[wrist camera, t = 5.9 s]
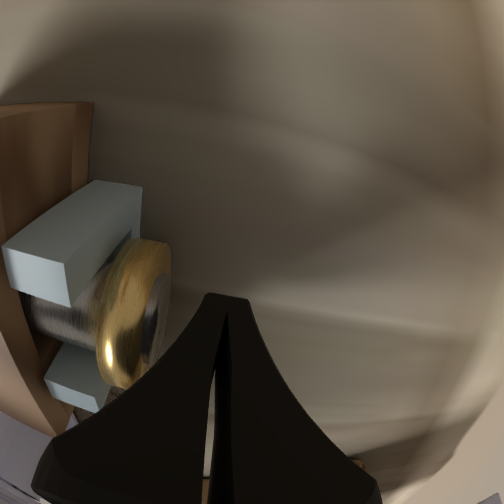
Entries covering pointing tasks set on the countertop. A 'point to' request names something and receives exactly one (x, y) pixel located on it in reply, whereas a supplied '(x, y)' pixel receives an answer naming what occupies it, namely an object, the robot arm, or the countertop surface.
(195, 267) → the countertop surface
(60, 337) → the shaft
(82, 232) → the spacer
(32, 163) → the bearing block
